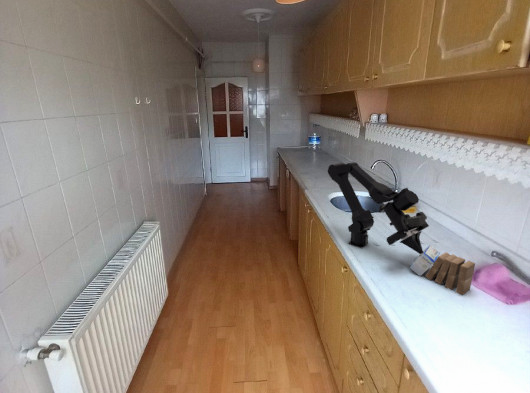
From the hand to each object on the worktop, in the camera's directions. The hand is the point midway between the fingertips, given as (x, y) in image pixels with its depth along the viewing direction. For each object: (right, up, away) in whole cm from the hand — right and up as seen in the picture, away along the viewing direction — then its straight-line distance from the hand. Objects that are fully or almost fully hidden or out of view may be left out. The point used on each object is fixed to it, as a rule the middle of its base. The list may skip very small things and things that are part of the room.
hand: (421, 253), depth 107 cm
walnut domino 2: (+5, -9, -4) cm, 11 cm away
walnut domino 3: (+7, -10, -7) cm, 14 cm away
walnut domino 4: (+8, -11, -10) cm, 17 cm away
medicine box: (0, -6, +3) cm, 7 cm away
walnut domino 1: (+3, -8, -1) cm, 8 cm away
